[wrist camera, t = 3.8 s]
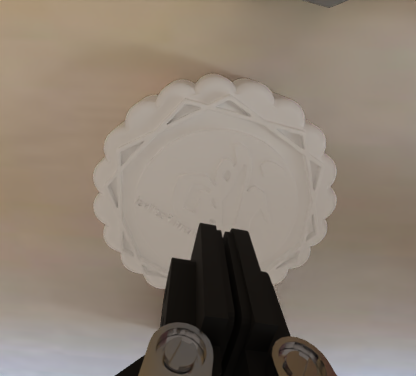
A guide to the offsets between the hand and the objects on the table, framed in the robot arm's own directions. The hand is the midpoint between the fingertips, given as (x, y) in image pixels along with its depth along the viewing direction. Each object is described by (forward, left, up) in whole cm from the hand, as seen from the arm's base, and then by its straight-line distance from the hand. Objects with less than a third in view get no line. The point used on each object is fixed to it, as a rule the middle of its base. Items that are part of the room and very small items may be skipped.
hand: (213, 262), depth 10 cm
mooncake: (0, 0, -8) cm, 8 cm away
